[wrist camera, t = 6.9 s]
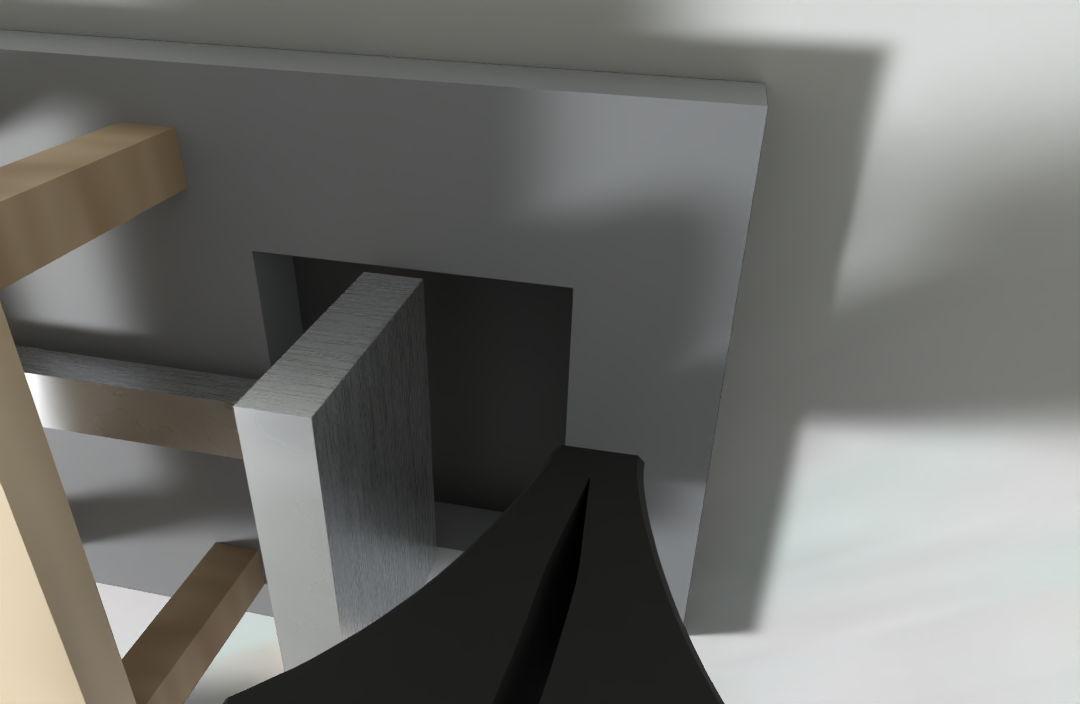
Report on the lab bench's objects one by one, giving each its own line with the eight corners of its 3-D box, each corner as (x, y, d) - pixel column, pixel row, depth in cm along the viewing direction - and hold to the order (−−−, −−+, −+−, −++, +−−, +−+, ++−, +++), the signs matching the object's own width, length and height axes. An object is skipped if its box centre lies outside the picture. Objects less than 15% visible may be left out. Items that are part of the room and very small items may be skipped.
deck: (764, 83, 12) (767, 106, 11) (676, 638, 18) (671, 694, 17) (-435, -1, 16) (-536, 9, 15) (-182, 480, 22) (-238, 516, 21)
